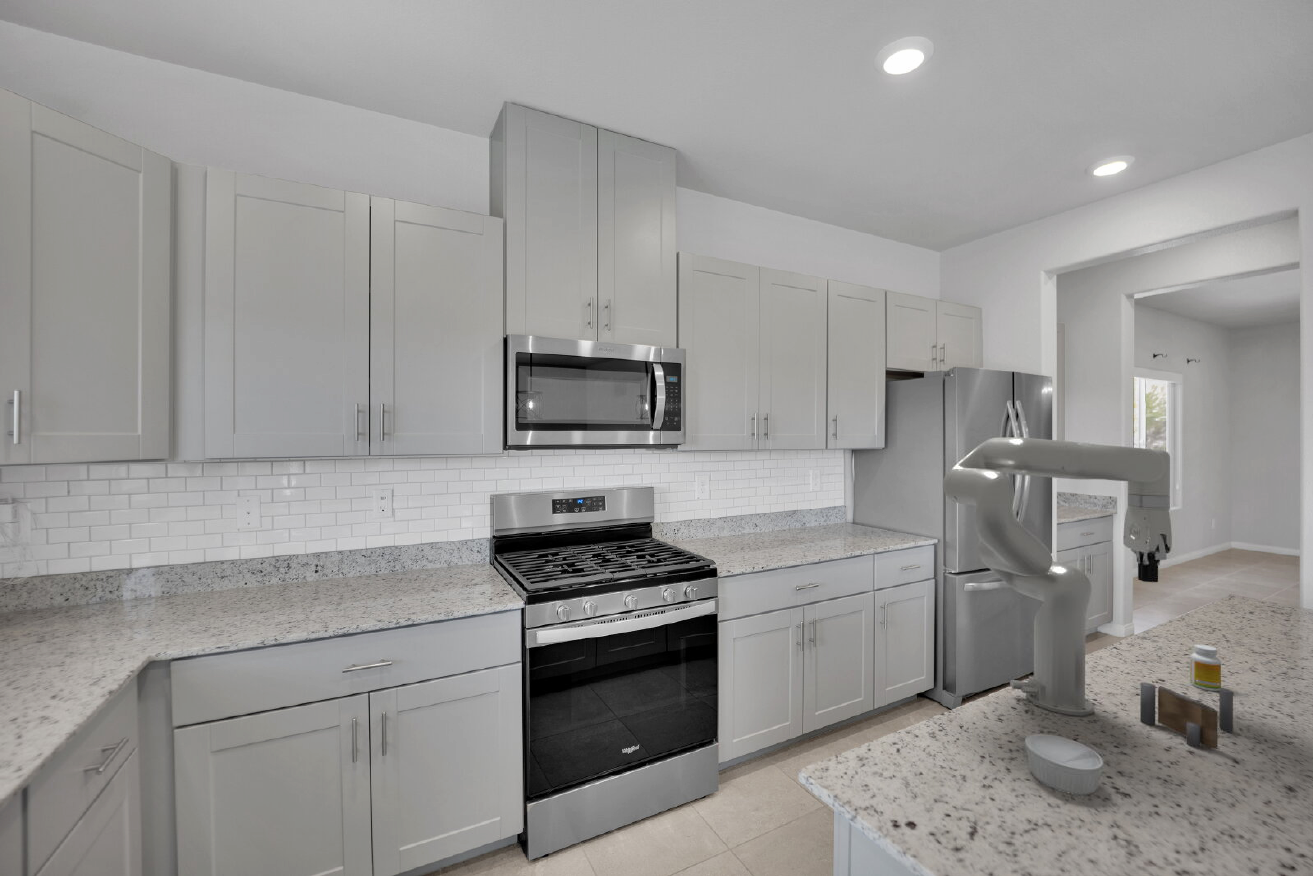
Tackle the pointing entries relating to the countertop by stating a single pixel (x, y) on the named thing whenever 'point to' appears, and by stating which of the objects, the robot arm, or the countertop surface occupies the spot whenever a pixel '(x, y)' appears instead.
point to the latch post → (1226, 710)
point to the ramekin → (1063, 763)
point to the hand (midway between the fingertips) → (1147, 581)
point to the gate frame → (1149, 714)
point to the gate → (1187, 715)
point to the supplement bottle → (1205, 668)
